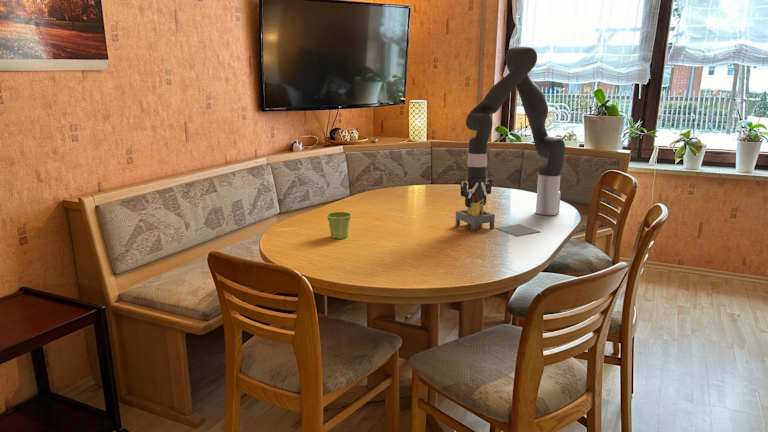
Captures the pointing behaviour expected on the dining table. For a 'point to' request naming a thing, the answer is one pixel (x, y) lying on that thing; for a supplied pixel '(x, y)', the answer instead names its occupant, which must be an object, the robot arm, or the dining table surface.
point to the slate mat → (518, 230)
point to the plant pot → (339, 224)
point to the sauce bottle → (476, 204)
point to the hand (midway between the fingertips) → (475, 205)
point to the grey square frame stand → (475, 219)
